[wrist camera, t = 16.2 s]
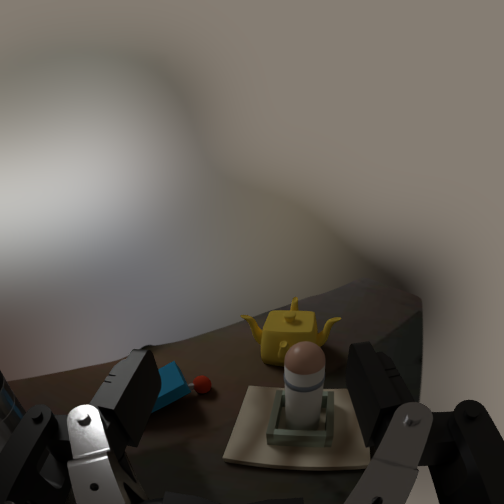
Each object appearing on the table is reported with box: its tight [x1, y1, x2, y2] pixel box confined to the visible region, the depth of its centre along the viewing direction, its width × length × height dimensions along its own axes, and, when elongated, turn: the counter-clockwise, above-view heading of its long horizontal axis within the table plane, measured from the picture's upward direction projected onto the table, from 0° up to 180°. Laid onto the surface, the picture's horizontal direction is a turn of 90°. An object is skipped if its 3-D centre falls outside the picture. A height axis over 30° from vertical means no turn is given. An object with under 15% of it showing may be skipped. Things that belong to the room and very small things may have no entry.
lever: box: [151, 361, 211, 413], centre depth 42 cm, size 7×7×18 cm
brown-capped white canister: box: [284, 341, 326, 431], centre depth 33 cm, size 5×5×16 cm
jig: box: [223, 386, 370, 471], centre depth 35 cm, size 20×16×4 cm
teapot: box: [241, 297, 341, 367], centre depth 54 cm, size 15×14×10 cm
